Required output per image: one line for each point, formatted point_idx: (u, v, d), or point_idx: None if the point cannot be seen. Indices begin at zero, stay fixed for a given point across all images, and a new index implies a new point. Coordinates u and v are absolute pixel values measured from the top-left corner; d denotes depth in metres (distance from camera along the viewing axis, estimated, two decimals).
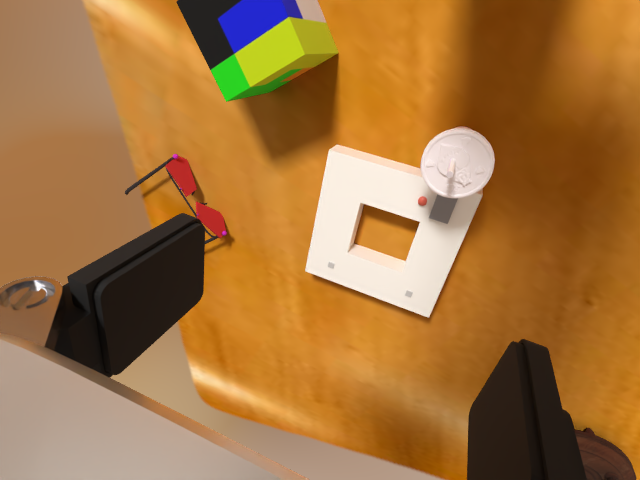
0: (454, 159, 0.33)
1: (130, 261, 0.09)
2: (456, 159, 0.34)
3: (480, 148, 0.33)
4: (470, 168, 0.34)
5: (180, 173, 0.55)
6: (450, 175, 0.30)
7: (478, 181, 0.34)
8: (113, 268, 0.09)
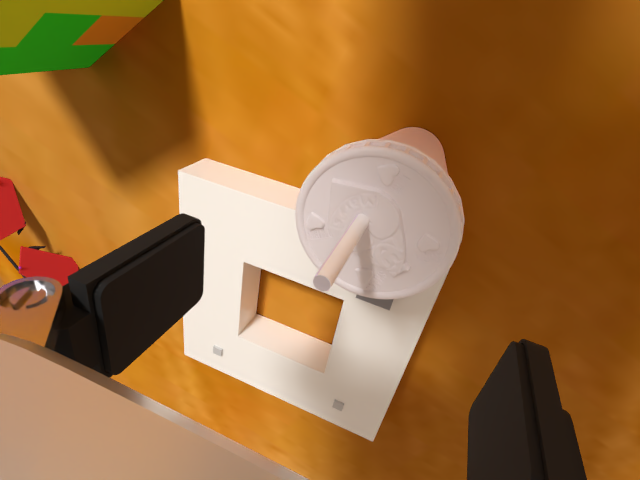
0: (363, 218, 0.13)
1: (130, 261, 0.09)
2: (369, 217, 0.14)
3: (425, 192, 0.13)
4: (404, 238, 0.14)
5: None
6: (324, 283, 0.10)
7: (425, 268, 0.14)
8: (113, 268, 0.09)
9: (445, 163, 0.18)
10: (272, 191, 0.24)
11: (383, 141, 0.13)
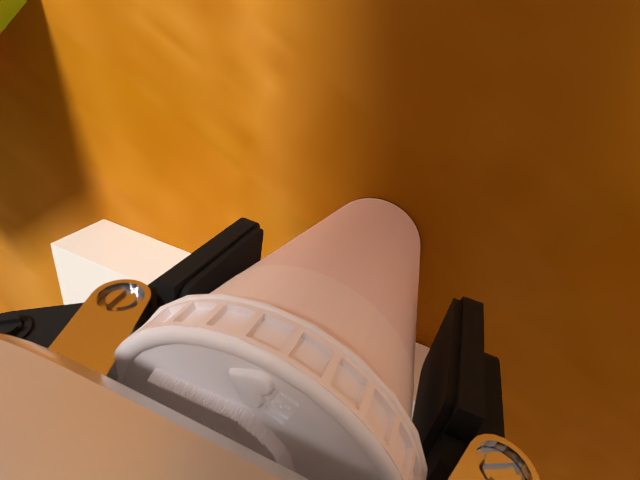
0: None
1: (206, 264, 0.09)
2: None
3: (333, 437, 0.06)
4: None
5: None
6: None
7: None
8: (194, 271, 0.09)
9: (413, 275, 0.11)
10: None
11: (249, 306, 0.06)
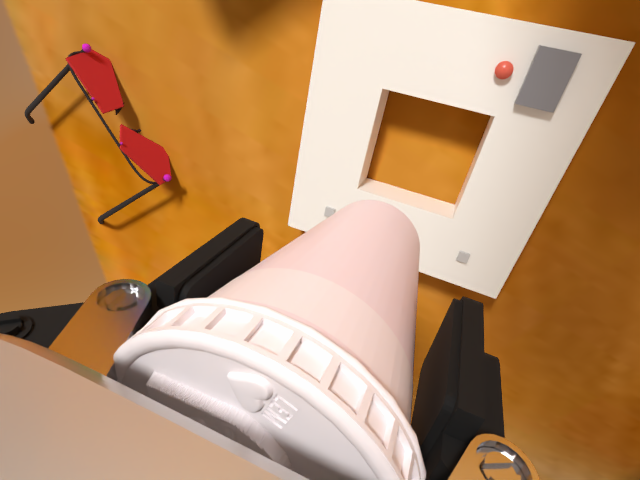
0: None
1: (207, 264, 0.09)
2: None
3: (331, 441, 0.06)
4: None
5: (94, 76, 0.34)
6: None
7: None
8: (194, 271, 0.09)
9: (412, 277, 0.11)
10: None
11: (248, 310, 0.06)
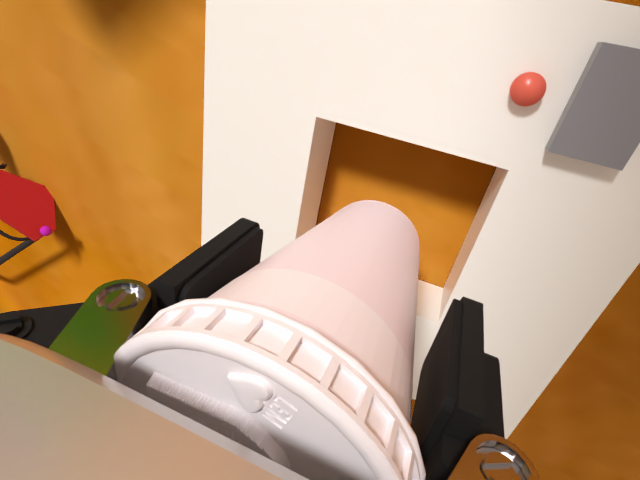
0: None
1: (206, 264, 0.09)
2: None
3: (331, 442, 0.06)
4: None
5: None
6: None
7: None
8: (194, 271, 0.09)
9: (412, 277, 0.11)
10: None
11: (248, 310, 0.06)
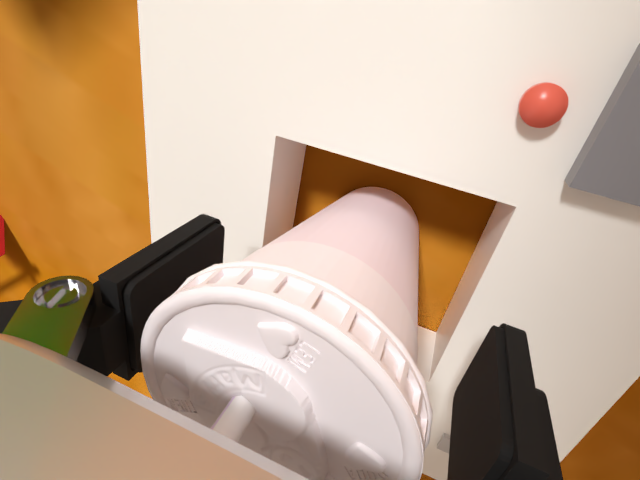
0: (240, 410, 0.07)
1: (156, 261, 0.09)
2: (254, 405, 0.07)
3: (350, 380, 0.06)
4: (321, 443, 0.07)
5: None
6: None
7: None
8: (141, 267, 0.09)
9: (414, 254, 0.12)
10: None
11: (273, 269, 0.07)
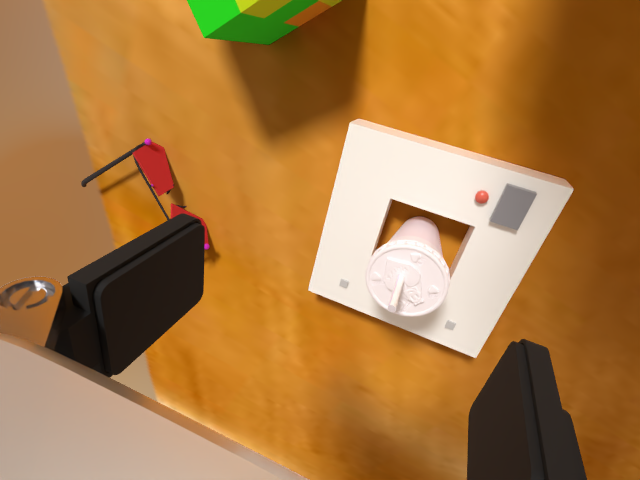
0: (402, 276, 0.28)
1: (130, 261, 0.09)
2: (405, 276, 0.28)
3: (432, 266, 0.27)
4: (421, 287, 0.28)
5: (153, 164, 0.41)
6: (392, 308, 0.25)
7: (431, 301, 0.29)
8: (113, 268, 0.09)
9: None
10: (423, 141, 0.32)
11: (412, 241, 0.28)
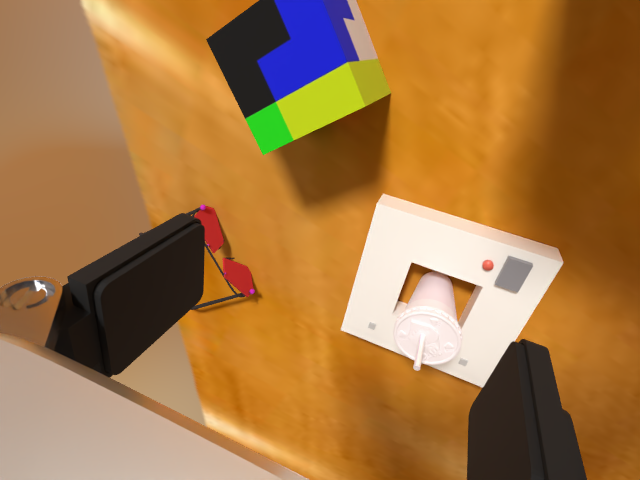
0: (424, 336, 0.35)
1: (130, 261, 0.09)
2: (426, 335, 0.35)
3: (448, 329, 0.34)
4: (439, 343, 0.35)
5: (207, 226, 0.49)
6: (417, 368, 0.32)
7: (447, 354, 0.35)
8: (113, 268, 0.09)
9: (453, 298, 0.40)
10: (438, 217, 0.38)
11: (431, 308, 0.35)
